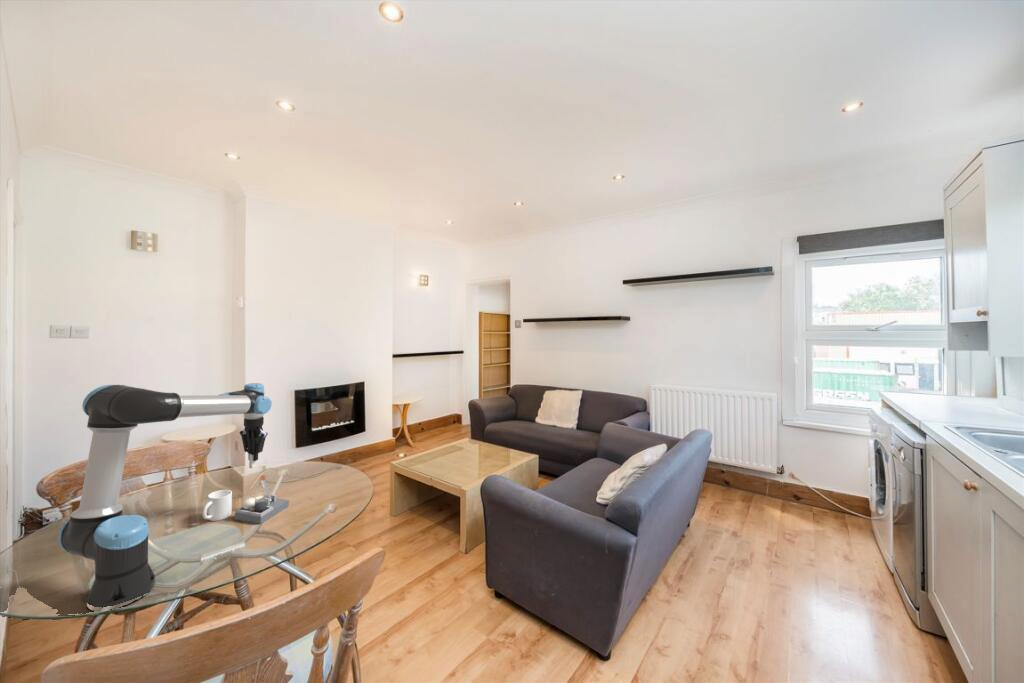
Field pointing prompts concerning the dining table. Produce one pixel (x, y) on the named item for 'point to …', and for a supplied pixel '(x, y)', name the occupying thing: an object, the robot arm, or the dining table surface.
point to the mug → (218, 505)
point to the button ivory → (248, 503)
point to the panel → (259, 518)
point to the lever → (265, 487)
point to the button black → (260, 507)
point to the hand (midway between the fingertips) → (253, 467)
